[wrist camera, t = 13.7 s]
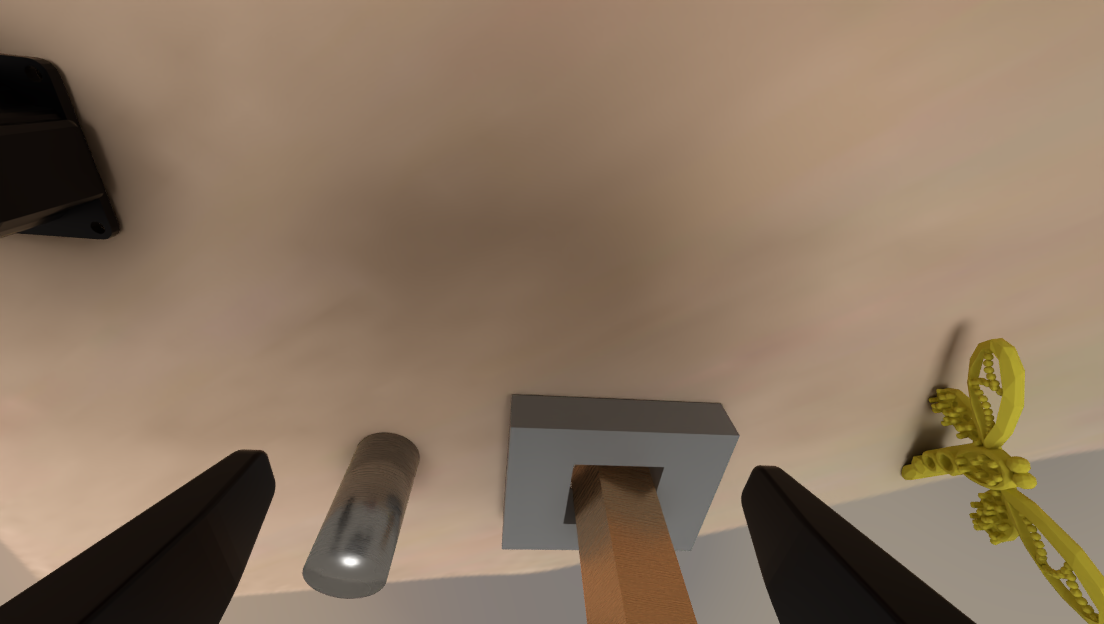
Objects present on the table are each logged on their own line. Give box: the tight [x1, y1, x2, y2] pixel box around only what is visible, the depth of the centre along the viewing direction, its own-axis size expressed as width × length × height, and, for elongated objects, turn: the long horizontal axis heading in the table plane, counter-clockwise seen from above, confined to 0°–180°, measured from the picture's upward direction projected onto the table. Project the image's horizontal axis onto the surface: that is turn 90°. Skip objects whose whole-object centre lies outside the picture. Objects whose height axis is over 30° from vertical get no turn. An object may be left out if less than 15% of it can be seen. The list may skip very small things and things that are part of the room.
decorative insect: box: [901, 338, 1104, 624], centre depth 24 cm, size 13×3×10 cm
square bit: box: [571, 465, 697, 624], centre depth 22 cm, size 3×3×12 cm
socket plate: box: [502, 395, 740, 551], centre depth 26 cm, size 12×10×2 cm
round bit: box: [303, 433, 419, 599], centre depth 22 cm, size 4×4×7 cm
